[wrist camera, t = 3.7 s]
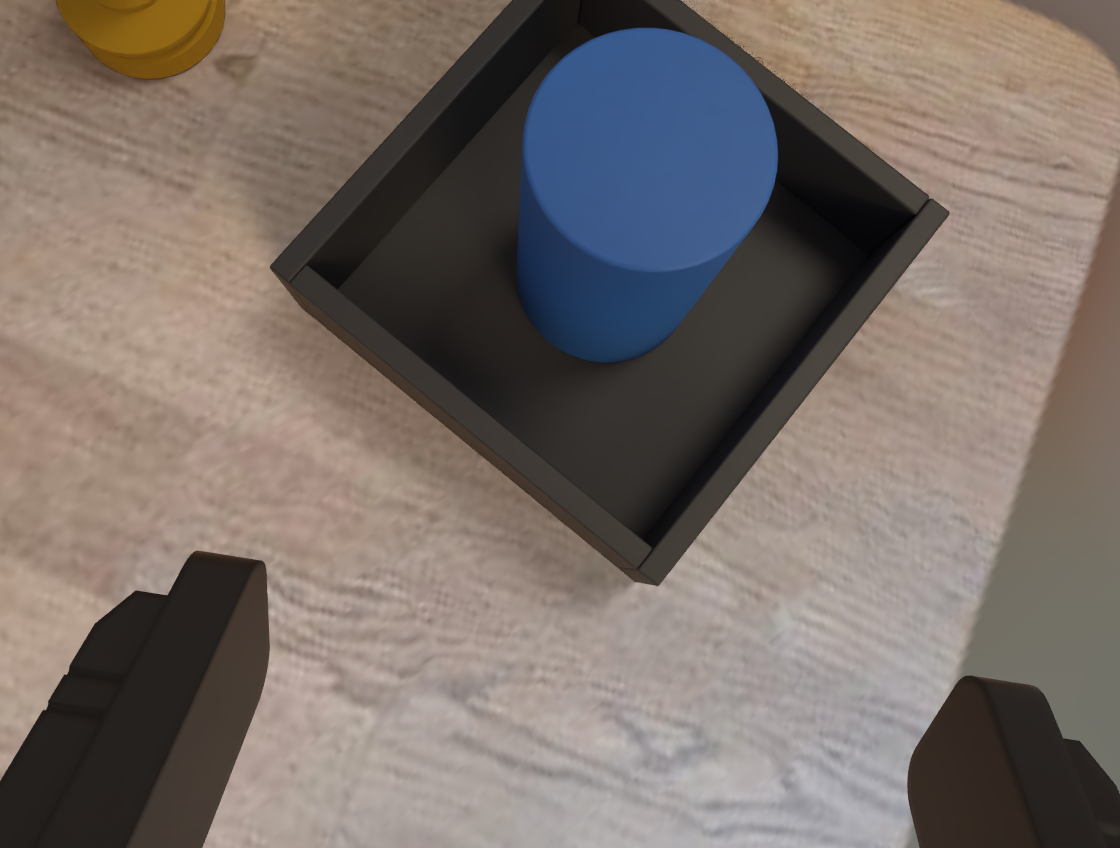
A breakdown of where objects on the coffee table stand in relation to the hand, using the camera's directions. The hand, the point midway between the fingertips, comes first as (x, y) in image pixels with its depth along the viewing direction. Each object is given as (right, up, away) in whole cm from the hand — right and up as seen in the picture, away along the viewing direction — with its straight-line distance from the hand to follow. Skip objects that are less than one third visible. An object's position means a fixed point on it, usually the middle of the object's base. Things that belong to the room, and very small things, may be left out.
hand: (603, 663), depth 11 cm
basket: (+1, +7, +14) cm, 16 cm away
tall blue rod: (+1, +7, +14) cm, 15 cm away
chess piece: (-11, +14, +15) cm, 23 cm away
